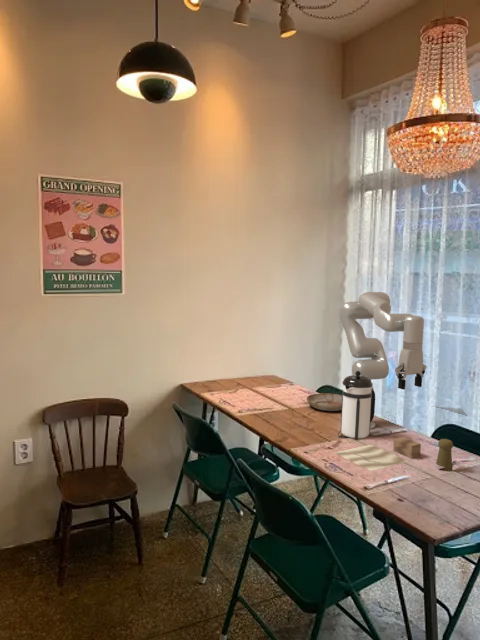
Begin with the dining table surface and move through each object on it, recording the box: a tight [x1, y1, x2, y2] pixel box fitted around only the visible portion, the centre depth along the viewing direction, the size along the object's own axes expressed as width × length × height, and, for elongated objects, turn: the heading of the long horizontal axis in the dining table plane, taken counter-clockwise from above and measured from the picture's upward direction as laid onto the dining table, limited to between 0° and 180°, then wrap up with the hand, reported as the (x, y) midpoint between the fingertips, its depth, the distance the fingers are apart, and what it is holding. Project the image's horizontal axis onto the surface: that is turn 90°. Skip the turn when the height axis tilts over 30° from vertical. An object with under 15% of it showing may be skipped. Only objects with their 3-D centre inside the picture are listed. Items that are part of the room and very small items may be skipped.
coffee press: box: [337, 371, 376, 441], centre depth 219 cm, size 17×16×30 cm
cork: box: [435, 438, 454, 472], centre depth 188 cm, size 6×6×11 cm
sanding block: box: [392, 436, 422, 459], centre depth 198 cm, size 9×5×6 cm, turn 31°
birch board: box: [334, 444, 410, 472], centre depth 194 cm, size 20×20×2 cm
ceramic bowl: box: [306, 392, 342, 412], centre depth 265 cm, size 23×24×5 cm
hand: (409, 387), depth 204 cm, fingers open, 9 cm apart
